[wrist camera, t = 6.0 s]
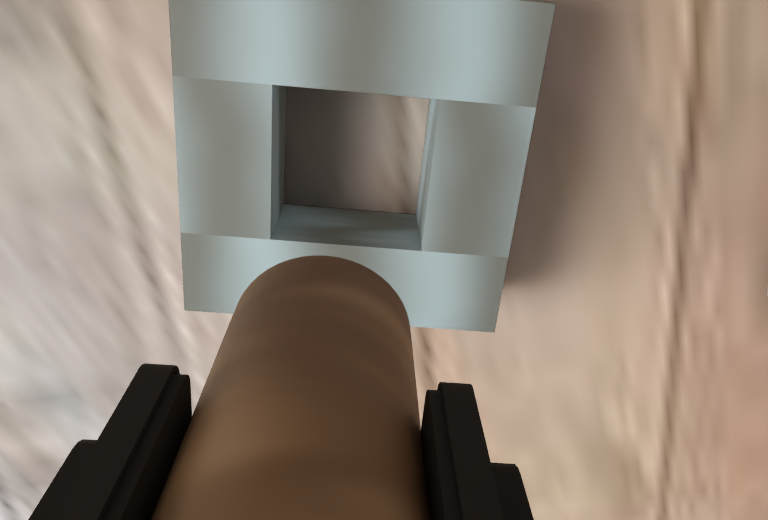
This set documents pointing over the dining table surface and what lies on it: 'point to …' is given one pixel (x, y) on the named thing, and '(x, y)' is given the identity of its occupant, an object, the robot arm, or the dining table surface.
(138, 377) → the robot arm
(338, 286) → the dowel
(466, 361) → the dining table surface
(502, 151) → the block with square hole
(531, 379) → the dining table surface
